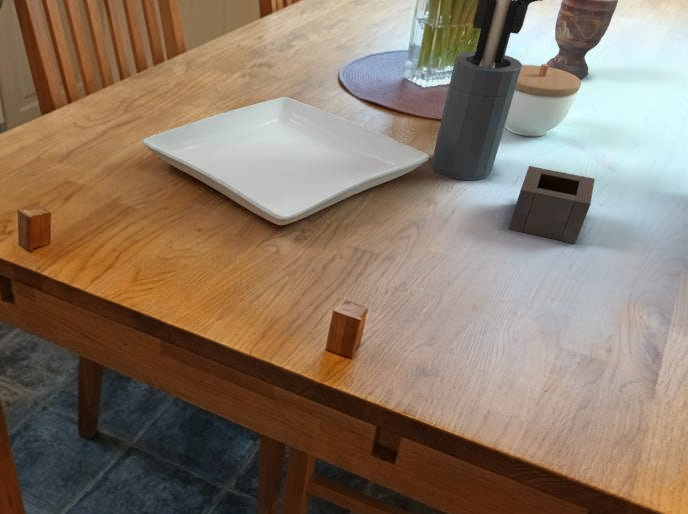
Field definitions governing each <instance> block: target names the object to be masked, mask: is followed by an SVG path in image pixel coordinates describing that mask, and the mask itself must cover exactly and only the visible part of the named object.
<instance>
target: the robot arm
mask: <svg viewBox="0 0 688 514" xmlns="http://www.w3.org/2000/svg"><path fill="white" fill-rule="evenodd" d="M538 1H539V2H542V1H543V0H512V2H511V3H510V5H509V9H508V13H507V16H506V20H505V24H504V28H503V32H502V35H501V39H500V43H499V47H498V51H497V54H496V58H495V62H494V63H500V64H501V62H502V60H503V59H504V56H505V55H506V52H507V48H508V45H509V42H510V38H511V34H514V35H515V34H516V35H518V34H519V33H520V32H521V30H522V29H523V27H524V23H525V20H526V15H527V12H528V8H529V5H530V4H532V3H534V2H535V3H536V2H538ZM495 2H496V0H477V5H476V9H475V13H474V16H473V17H474V18H473V20H472V21H473V22H472V26H473V28H474V29H479V30H480V32H479V35H478V41H477V44H476V48H475V51H474V52H475V56H474V60H480V59H481V58H482V54H483V50H484V46H485V42H486V38H487V34H488V30H489V26H490V22H491V18H492V14H493V10H494V6H495Z"/></svg>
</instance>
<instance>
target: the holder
mask: <svg viewBox="0 0 688 514" xmlns="http://www.w3.org/2000/svg"><path fill="white" fill-rule="evenodd" d="M595 181H596V179H595V177H594V178H593V177H589V176H584V175H578V174H572V173H567V172H562V171H558V170H553V169H546V168H542V167H538V166H532V165H529V166H528V167H527V170H526V173H525V176H524V179H523V182H522V184H521V188H520V190H519V194H518V197H517V200H516V204H515V206H514V210H513V213H512V216H511V217H510V218H511V219H510V221H509V225H508V227H507V229H508V230H512V231H516V232H520V233H524V234H529V235H534V236H539V237H543V238H546V239H547V238H548V239H552V240H556V241H561V242H564V243H570V244H574V245H575V244H577V243H576V242H577V240H578V238H579V235H580V233H581V230H582V227H583V225H584V222H585V220H586V218H587V215H588V212H589V210H590V208H591V206H592V205H591V204H592V199H593V194H594V193H593V192H594V187H595Z"/></svg>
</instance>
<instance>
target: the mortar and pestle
mask: <svg viewBox="0 0 688 514" xmlns="http://www.w3.org/2000/svg"><path fill="white" fill-rule="evenodd" d="M618 3H619V0H561V3H560V8H559V10H558V13H557V18H556V20H555V21H556V22H555V29H554V39H555V42H556V45H557V47H558V49H559V50H558V52H557V54H556V55H555V56H554V57H551V58H550V59H549V60H547V62H546V63H545V64H548V65H549V67H550V68H555V69H559V70H563V71H566V72H568V73H571V74H573V75H575V76H576V77H578V78H579V79H580V80H581V79H584V78H586V77H587V76H588V75H589V66H588V63H587V61H586V58H585V57H586V55H587V54H588V52H590V51H591V50H593V49H594V48H596V47H597V46H598V45H599V44H600V42H601V40H602V39H603V37H604V36H605V34H606V32H607V31H608V28H609V26H610V25H611V21H612V19H613V15H614V14H615V11H616V10H617V6H618Z"/></svg>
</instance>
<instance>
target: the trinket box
mask: <svg viewBox="0 0 688 514" xmlns="http://www.w3.org/2000/svg"><path fill="white" fill-rule="evenodd" d="M581 85H582V81H581V79H579V78H578V77H576V76H575V75H573V74H571V73H568V72H566V71H563V70H559V69H555V68H550V67H549V65H548V64H546V63H542V64H541V65H532V64H527V65H526V64H525V65H523V64H522V67H521V71H520V74H519V78H518V81H517V85H516V88H515V92H514V95H513V99H512V102H511V106H510V109H509V113H508V116H507V120H506V123H505V127H504V129H505V130H506V131H509V132H511V133H513V134H515V135H519V136H522V137H523V136H524V137H534V138H535V137H536V138H537V137H541V136H545V135H547V133H548V132H550V131H551V130H553V129H555V128H556V127H558V126H559V125H560V124H561V123H562V122H563V121H564V120H565V119H566V117H567V115H568V114H569V112H570V110H571V109H572V106H573V105H574V102H575V100H576V98H577V94H578V92H579V90H580V88H581Z"/></svg>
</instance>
